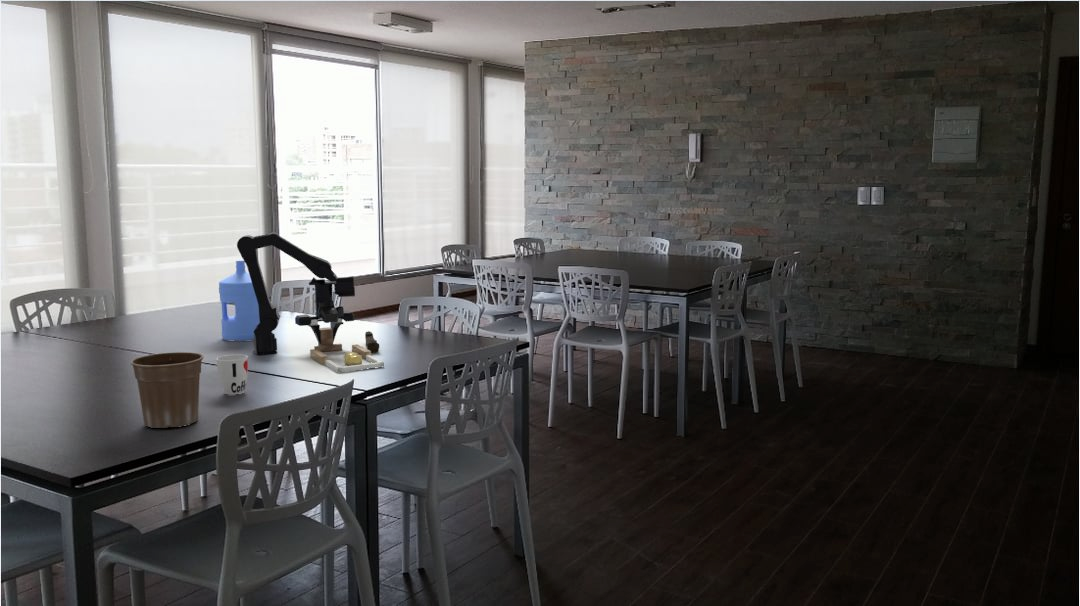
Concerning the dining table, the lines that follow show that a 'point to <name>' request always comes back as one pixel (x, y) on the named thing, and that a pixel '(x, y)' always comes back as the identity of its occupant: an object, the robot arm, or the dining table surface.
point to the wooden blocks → (322, 357)
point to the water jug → (239, 305)
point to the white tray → (355, 367)
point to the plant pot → (168, 388)
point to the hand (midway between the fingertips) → (326, 343)
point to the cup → (233, 373)
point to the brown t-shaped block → (327, 341)
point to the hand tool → (371, 342)
